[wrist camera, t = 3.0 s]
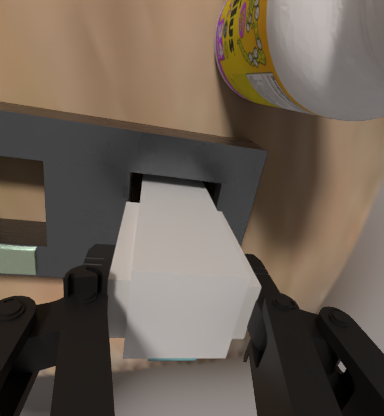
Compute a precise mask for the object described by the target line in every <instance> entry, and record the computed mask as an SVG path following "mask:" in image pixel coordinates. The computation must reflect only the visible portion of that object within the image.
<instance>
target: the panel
mask: <svg viewBox="0 0 384 416" xmlns="http://www.w3.org/2000/svg"><path fill="white" fill-rule="evenodd" d="M267 152H268V151H267V150H265V149H264V148H262V147H260V146H259V145H257V144H255V143H253V142H252V141H247V140H240V139H234V138H228V137H221V136H215V135H209V134H202V133H196V132H189V131H183V130H177V129H170V128H164V127H158V126H151V125H145V124H139V123H132V122H126V121H119V120H113V119H107V118H100V117H94V116H88V115H81V114H75V113H69V112H62V111H56V110H49V109H43V108H37V107H30V106H24V105H18V104H11V103H5V102H0V156H6V157H14V158H22V159H30V160H38V161H43V171H44V190H45V209H46V222H36V221H24V220H12V219H0V274H4V275H24V276H44V277H64V276H65V274H66V273H67V272H68V271H69V270H70V269H72V268H74V267H77V266H81V265H83V262H84V260H85V258H86V255H87V252H88V250H89V249H90V248H91V247H92V246H93V245H95V244H109V245H116V244H117V239H118V235H119V231H120V227H121V223H122V218H123V214H124V210H125V206H126V202H131V191H132V180H133V172H135V173H143V174H151V175H159V176H167V177H175V178H183V179H191V180H199V181H207V182H210V183H209V188H208V193H209V195H210V197H211V199H212V201H213V203H214V205H215V207H216V209H217V211H222V213H223V215H224V217H225V219H226V220H227V222H228V224H229V226H230V228H231V230H232V232H233V234H234V236H235V238H236V239H237V241H238V243H239V245H240V247H241V244H242V241H243V237H244V234H245V230H246V227H247V223H248V220H249V216H250V213H251V209H252V205H253V202H254V198H255V195H256V191H257V188H258V184H259V181H260V177H261V174H262V170H263V167H264V163H265V159H266V156H267Z"/></svg>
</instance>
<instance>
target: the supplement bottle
mask: <svg viewBox="0 0 384 416" xmlns="http://www.w3.org/2000/svg"><path fill="white" fill-rule="evenodd" d="M214 50H215V57H216V62H217V65H218V69H219V71H220V73H221V75H222V77H223V79H224V81H225V82H226V84H227V85H228V86H229V87H230V88H231V89H232V90H233V91H234V92H235V93H236V94H238V95H239V96H241V97H242V98H244V99H246V100H248V101H251V102H254V103H258V104H263V105H268V106H272V107H278V108H282V109H287V110H292V111H297V112H302V113H307V114H312V115H316V116H320V117H325V118H330V119H337V120H344V121H364V120H371V119H376V118H381V117H384V0H226V1H225V3H224V5H223V7H222V9H221V12H220V14H219V17H218V20H217V24H216V29H215V37H214Z"/></svg>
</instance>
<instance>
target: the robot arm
mask: <svg viewBox="0 0 384 416" xmlns="http://www.w3.org/2000/svg"><path fill="white" fill-rule="evenodd" d="M139 204H140V203H135V202H126V206H125V210H124V214H123V218H122V223H121V227H120V231H119V235H118V239H117V244H116V245H109V244H95V245H93V246H92V247H91V248H90V249H89V250H88V252H87V255H86V258H85V260H84V262H83V265H81V266H77V267H74V268H72V269H70V270H69V271H68V272H67V273H66V274H65V276H64V278H63V282H64V297H63V298H61V299H59V300H57V301H53V302H50V303H45V304H39V305H36V304H35V301H34V300H32V299H31V298H30V297H25V296H12V297H8V298H5V299H2V300H0V416H19V415H20V413H21V411H22V409H23V406H24V404H25V402H26V400H27V397H28V395H29V393H30V391H31V388H32V386H33V384H34V382H35V379H36V377H37V375H38V373H39V370H43V369H46V368H50V367H53V366H56V371H55V379H54V388H53V396H52V405H51V413H50V416H115V413H114V400H113V385H112V371H111V357H110V342H109V338H125V332H126V321H127V311H128V301H129V291H130V280H131V270H132V262H133V254H134V246H135V237H136V229H137V221H138V213H139ZM218 213H219V215H220V217H221V219H222V221H223V223H224V225H225V227H226V229H227V231H228V233H229V235H230V237H231V239H232V241H233V243H234V245H235V247H236V249H237V251H238V253H239V255H240V257H241V259H242V261H243V263H244V265H245V267H246V269H247V271H248V273H249V275H250V277H251V280H250V283H249V286H248V289H247V292H246V295H245V299H244V302H243V305H242V308H241V311H240V314H239V317H238V321H237V324H236V327H235V330H234V333H233V336H232V339H244V337H245V334H246V331H247V329H248V332H249V334H250V337H251V338H250V341H249V344H248V347H247V350H246V352H245V355H244V361H243V362H246V361H247V359H248V356H249V359H250V366H251V373H252V380H253V388H254V395H255V402H256V409H257V416H384V354H383V353H382V351H381V350H380V349H379V348H378V347H377V346H376V345H375V343H374V342H373V341H372V340H371V339H370V338H369V337H368V336H367V334H366V333H365V332H364V331H363V330H362V329H361V328H360V327H359V326H358V324H357V323H356V322H355V321H354V320H353V319H352V318H351V317H350V316H349V315H348V314H346V313H345V312H343V311H341V310H339V309H337V308H334V307H323V308H322V309H321V310H320V312H319V314H318V315H317V314H314V313H310V312H307V311H303V310H301V309H299V307H298V305H297V303H296V302H295V301H294V300H293V299H291V298H290V297H288V296H287V295H285V294H282V293H280V292H279V290H278V289H277V287H276V285H275V284H274V282H273V280H272V279H271V277H270V275H268V272H267V270H266V269H265V267H264V265H263V264H262V262H261V261H260V260H259V259H258V258H257V257H256V256H255V255H253V254H244V253H243V251H242V249H241V247H240V245H239V243H238V241H237V239H236V238H235V236H234V234H233V232H232V230H231V228H230V226H229V224H228V222H227V220H226V219H225V217H224V215H223V213H222V211H218ZM340 361H341V362H342V363H343V365H344V366H345V367H346V371H345V372H344V373H343V372H342V371H341V370H340V369H339V367H338V364H339V362H340Z"/></svg>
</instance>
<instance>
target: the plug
mask: <svg viewBox="0 0 384 416" xmlns="http://www.w3.org/2000/svg"><path fill="white" fill-rule="evenodd" d="M250 280H251V277H250V275H249V273H248V271H247V269H246V267H245V265H244V263H243V261H242V259H241V257H240V255H239V253H238V251H237V249H236V247H235V245H234V243H233V241H232V239H231V237H230V235H229V233H228V231H227V229H226V227H225V225H224V223H223V221H222V219H221V217H220V215H219V213H218V211H217V209H216V207H215V205H214V203H213V201H212V199H211V197H210V195H209V193H208V191H207V189H206V187H205V185H204V183H203V181H199V180H191V179H183V178H175V177H167V176H159V175H151V174H143V180H142V188H141V196H140V204H139V213H138V221H137V229H136V237H135V246H134V254H133V262H132V270H131V280H130V291H129V301H128V311H127V321H126V332H125V342H124V352H123V359H127V358H148V361H178V360H196V358H226V355H227V352H228V349H229V346H230V343H231V340H232V336H233V333H234V330H235V327H236V324H237V321H238V317H239V314H240V311H241V308H242V305H243V302H244V299H245V295H246V292H247V289H248V286H249V283H250Z"/></svg>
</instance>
